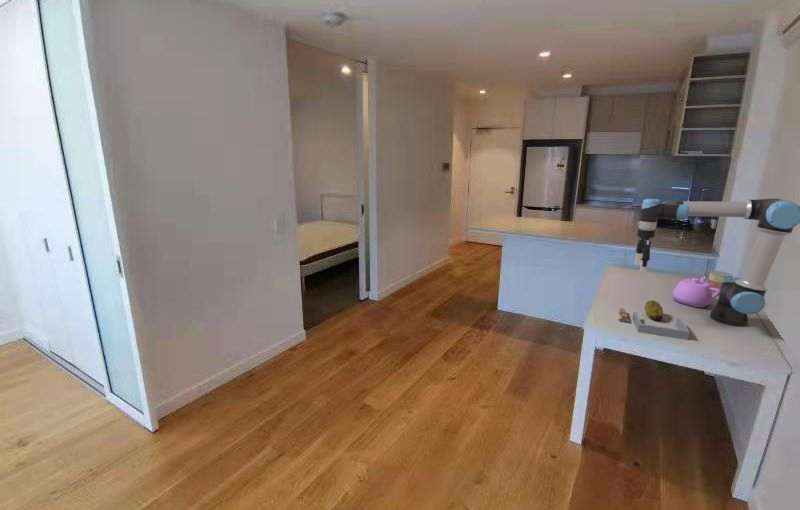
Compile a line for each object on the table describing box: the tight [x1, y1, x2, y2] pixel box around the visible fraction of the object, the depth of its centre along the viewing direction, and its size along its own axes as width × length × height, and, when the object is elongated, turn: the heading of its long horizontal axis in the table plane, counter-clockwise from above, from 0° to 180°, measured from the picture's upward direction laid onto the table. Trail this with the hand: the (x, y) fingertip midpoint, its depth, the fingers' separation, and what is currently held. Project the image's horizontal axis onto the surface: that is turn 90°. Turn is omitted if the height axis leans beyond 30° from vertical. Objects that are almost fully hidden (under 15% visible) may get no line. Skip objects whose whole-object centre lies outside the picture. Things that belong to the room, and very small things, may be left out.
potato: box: [644, 300, 664, 321], centre depth 199 cm, size 8×13×8 cm, turn 147°
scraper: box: [618, 307, 631, 324], centre depth 199 cm, size 14×5×2 cm, turn 157°
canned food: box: [706, 270, 734, 294], centre depth 237 cm, size 11×11×12 cm
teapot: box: [672, 275, 720, 308], centre depth 218 cm, size 23×21×15 cm
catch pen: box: [632, 311, 691, 341], centre depth 186 cm, size 20×16×4 cm
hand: (640, 268), depth 198 cm, fingers open, 13 cm apart
